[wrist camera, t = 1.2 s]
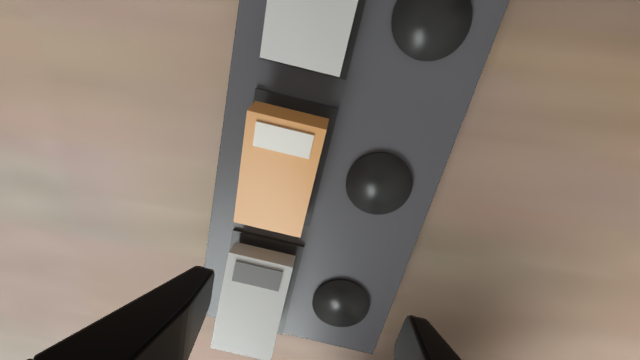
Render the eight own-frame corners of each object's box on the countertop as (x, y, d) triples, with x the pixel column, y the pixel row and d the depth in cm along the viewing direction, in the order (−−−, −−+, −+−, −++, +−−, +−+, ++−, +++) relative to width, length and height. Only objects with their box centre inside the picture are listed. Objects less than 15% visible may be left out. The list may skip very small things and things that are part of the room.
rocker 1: (273, 345, 19) (269, 363, 18) (217, 332, 19) (209, 349, 17) (295, 255, 18) (292, 268, 16) (235, 241, 17) (228, 253, 16)
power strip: (369, 316, 23) (372, 357, 20) (216, 280, 23) (196, 316, 20) (496, -36, 16) (532, -54, 13) (271, -94, 15) (254, -125, 12)
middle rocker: (304, 221, 17) (300, 239, 16) (241, 206, 17) (232, 223, 16) (329, 118, 14) (326, 130, 13) (255, 100, 14) (246, 111, 13)
